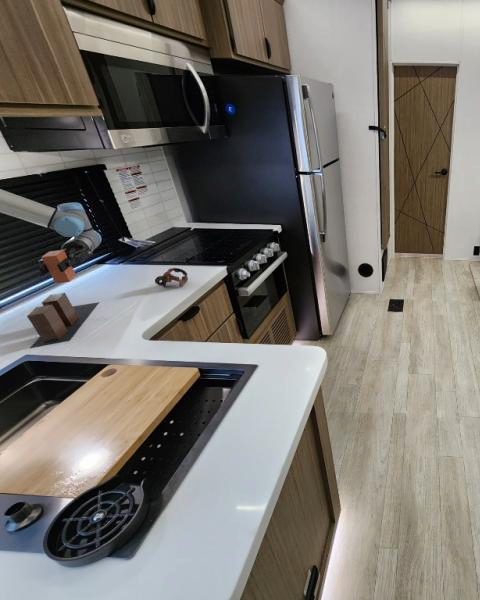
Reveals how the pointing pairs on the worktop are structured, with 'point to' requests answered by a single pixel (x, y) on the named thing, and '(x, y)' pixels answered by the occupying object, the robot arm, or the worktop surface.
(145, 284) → the worktop surface
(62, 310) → the brown wooden block
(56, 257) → the terracotta toy brick
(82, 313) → the dark gray mat
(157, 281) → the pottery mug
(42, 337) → the dark brown cuboid
